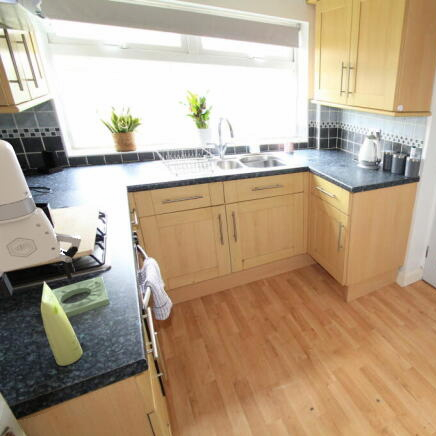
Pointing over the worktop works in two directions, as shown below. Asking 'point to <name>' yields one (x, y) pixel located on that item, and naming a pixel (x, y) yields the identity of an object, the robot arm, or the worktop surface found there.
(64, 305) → the base pad
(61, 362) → the yellow-green tapered cone
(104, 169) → the worktop surface
